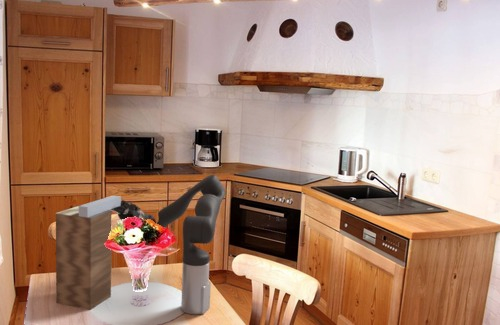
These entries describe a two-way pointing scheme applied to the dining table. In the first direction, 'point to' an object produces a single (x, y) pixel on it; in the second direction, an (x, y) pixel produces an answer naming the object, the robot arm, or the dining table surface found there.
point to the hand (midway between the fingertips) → (111, 201)
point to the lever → (99, 206)
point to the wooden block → (82, 258)
